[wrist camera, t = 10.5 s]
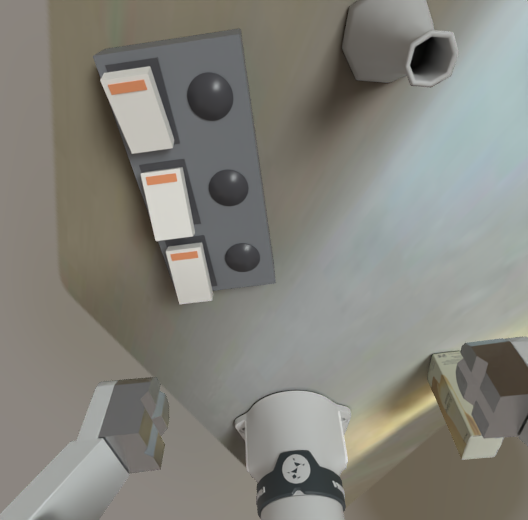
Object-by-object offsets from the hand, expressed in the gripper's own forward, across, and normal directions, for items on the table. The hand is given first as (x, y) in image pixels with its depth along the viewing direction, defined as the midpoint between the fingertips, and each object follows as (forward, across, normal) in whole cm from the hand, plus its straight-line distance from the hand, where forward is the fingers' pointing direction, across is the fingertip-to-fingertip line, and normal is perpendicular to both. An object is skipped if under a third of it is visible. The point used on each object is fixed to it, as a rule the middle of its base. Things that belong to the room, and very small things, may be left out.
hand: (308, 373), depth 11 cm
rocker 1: (+24, +10, -1) cm, 26 cm away
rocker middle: (+24, +10, +7) cm, 27 cm away
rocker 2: (+24, +10, +15) cm, 30 cm away
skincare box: (+29, -21, +41) cm, 55 cm away
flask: (+29, -10, -3) cm, 31 cm away
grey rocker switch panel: (+29, +7, +7) cm, 31 cm away
